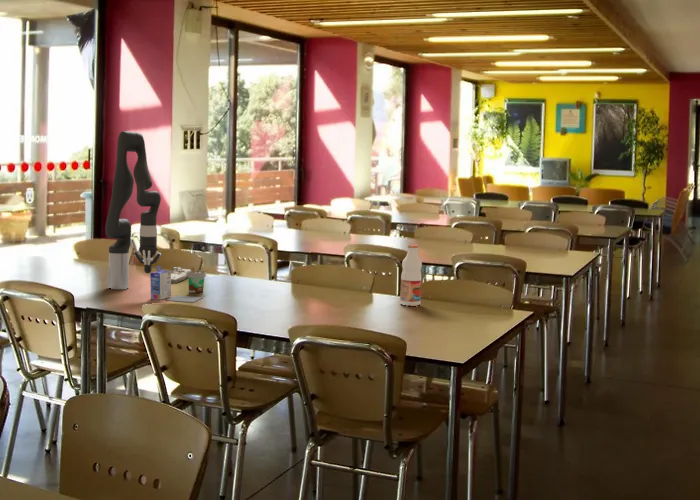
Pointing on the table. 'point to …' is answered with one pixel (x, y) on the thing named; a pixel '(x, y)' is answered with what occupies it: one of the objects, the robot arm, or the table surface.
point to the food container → (196, 282)
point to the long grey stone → (179, 274)
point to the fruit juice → (411, 278)
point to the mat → (184, 299)
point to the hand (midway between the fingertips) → (147, 273)
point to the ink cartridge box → (160, 284)
